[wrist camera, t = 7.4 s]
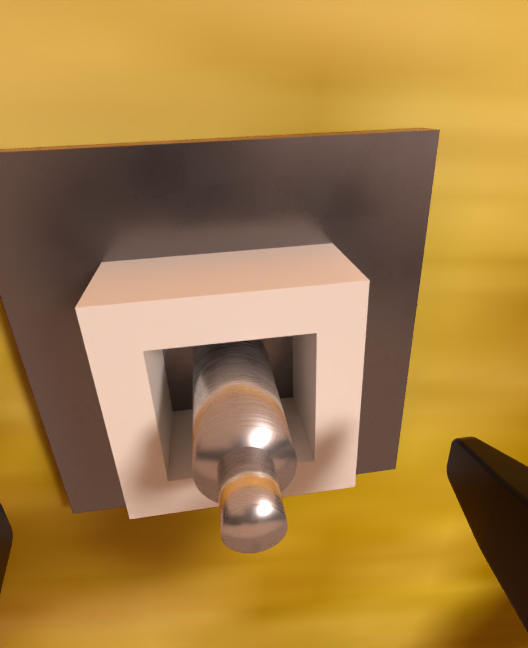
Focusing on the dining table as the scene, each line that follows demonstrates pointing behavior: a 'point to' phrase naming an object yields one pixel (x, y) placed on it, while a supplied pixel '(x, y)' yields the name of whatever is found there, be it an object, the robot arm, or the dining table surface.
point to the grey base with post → (202, 238)
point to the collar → (220, 327)
